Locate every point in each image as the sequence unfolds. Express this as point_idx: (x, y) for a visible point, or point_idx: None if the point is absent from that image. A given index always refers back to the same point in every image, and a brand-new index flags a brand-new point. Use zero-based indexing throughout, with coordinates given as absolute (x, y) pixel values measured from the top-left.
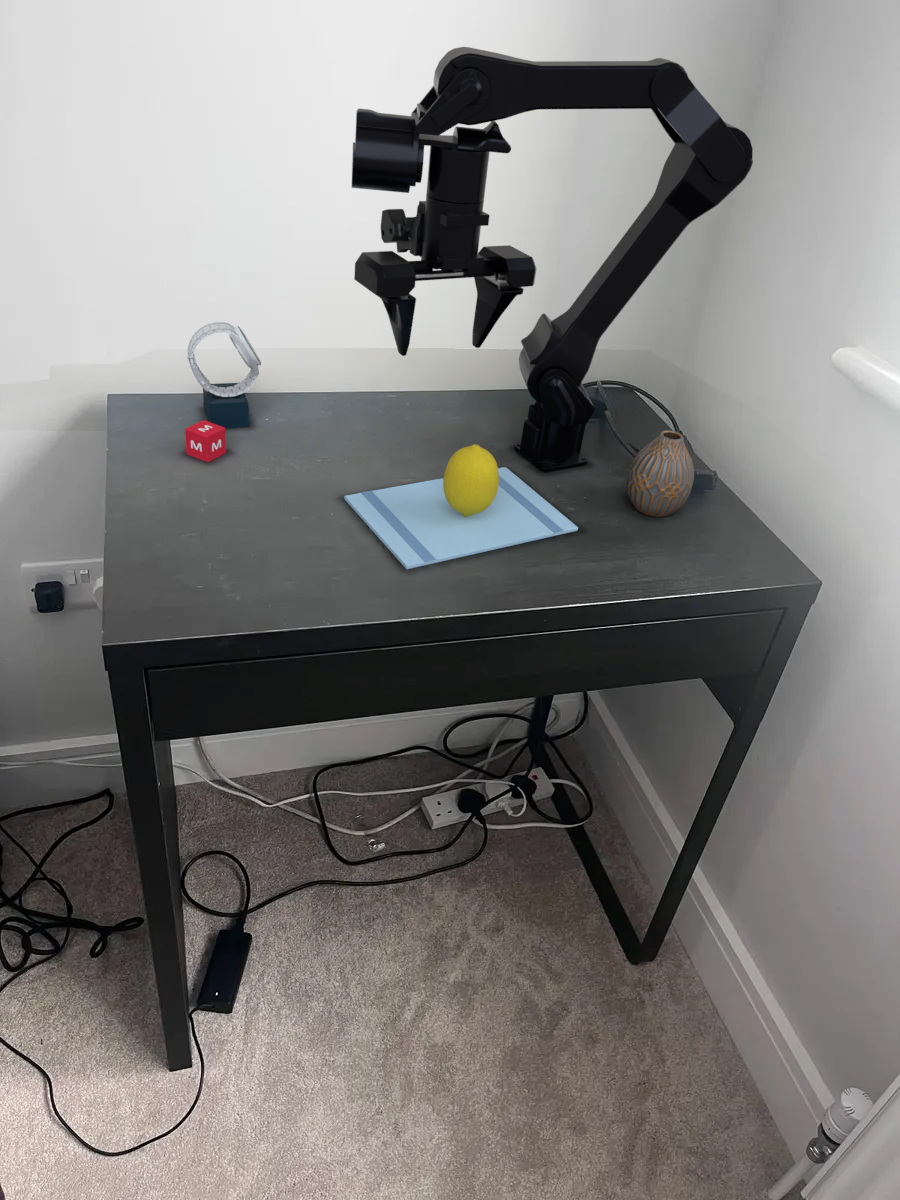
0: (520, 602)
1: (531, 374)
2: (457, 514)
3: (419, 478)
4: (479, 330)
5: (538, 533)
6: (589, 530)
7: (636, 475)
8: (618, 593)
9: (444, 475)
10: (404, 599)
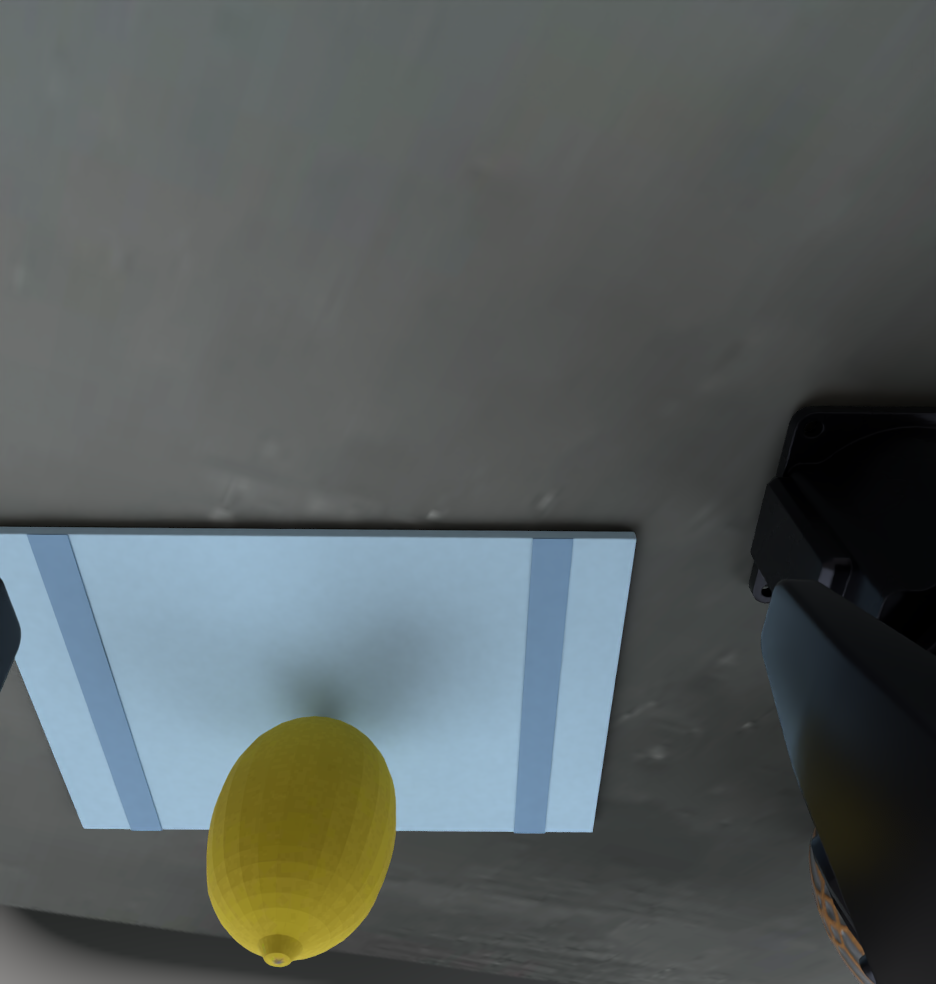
0: None
1: (837, 900)
2: (304, 710)
3: (287, 485)
4: (834, 776)
5: (472, 825)
6: (623, 827)
7: (837, 921)
8: (504, 965)
9: (214, 813)
10: (56, 879)
